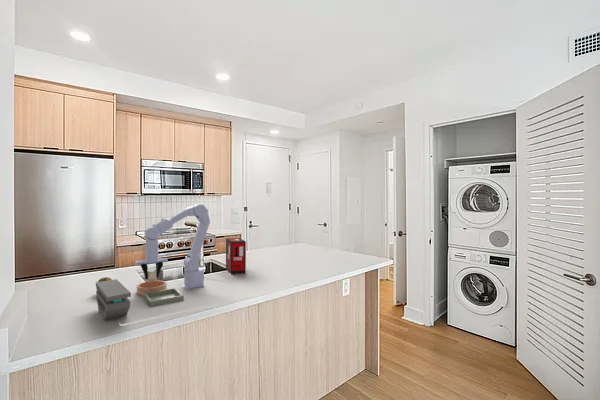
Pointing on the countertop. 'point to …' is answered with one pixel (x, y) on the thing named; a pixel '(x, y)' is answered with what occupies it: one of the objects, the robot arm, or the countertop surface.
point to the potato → (104, 280)
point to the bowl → (151, 287)
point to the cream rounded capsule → (152, 275)
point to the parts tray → (163, 296)
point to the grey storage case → (112, 299)
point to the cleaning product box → (236, 255)
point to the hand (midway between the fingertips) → (151, 278)
